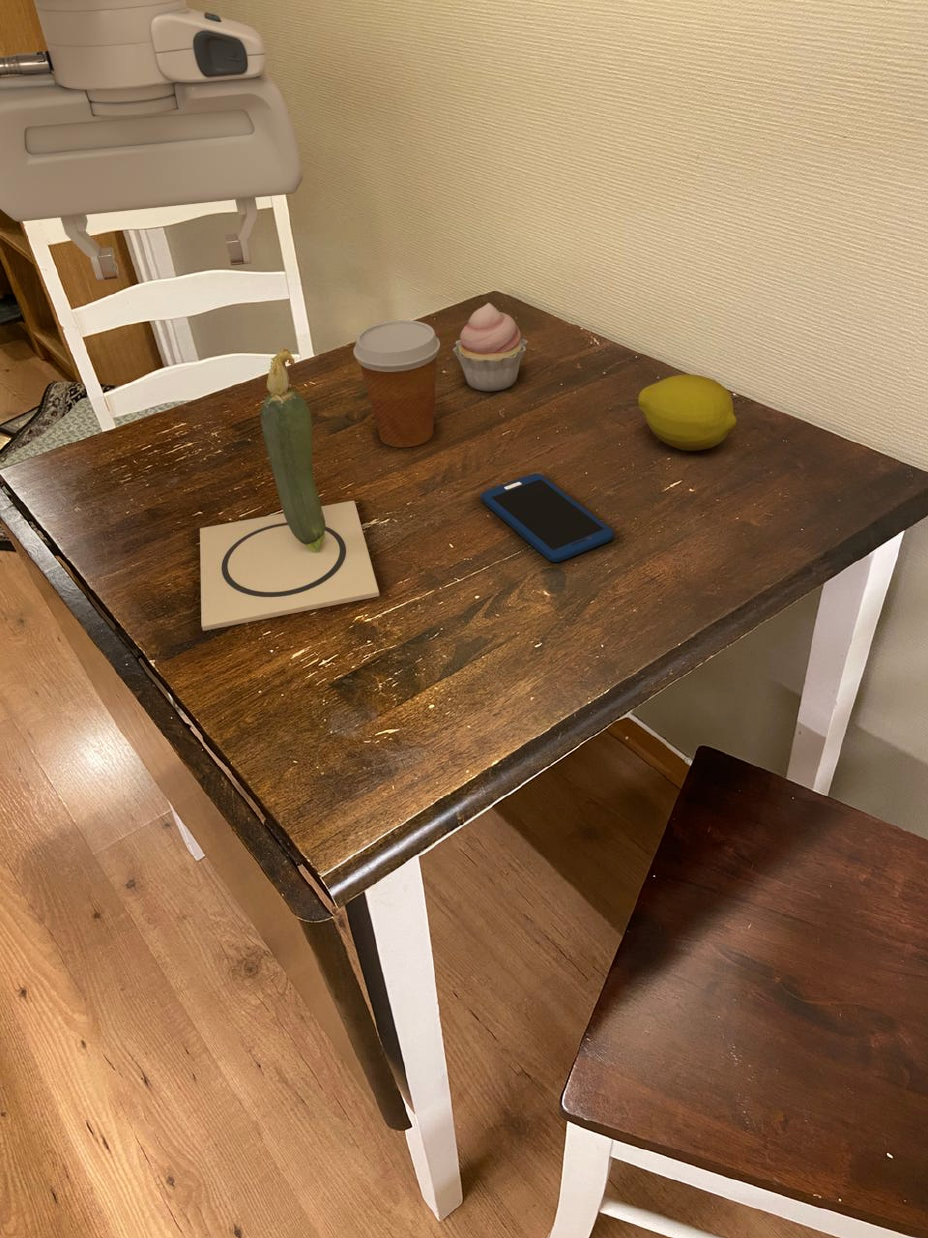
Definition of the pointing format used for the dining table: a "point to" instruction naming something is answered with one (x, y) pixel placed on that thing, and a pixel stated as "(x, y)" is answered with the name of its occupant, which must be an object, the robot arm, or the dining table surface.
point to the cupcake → (490, 350)
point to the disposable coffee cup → (400, 379)
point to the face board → (281, 568)
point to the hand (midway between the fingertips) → (175, 269)
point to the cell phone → (547, 517)
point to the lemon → (688, 411)
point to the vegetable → (292, 454)
